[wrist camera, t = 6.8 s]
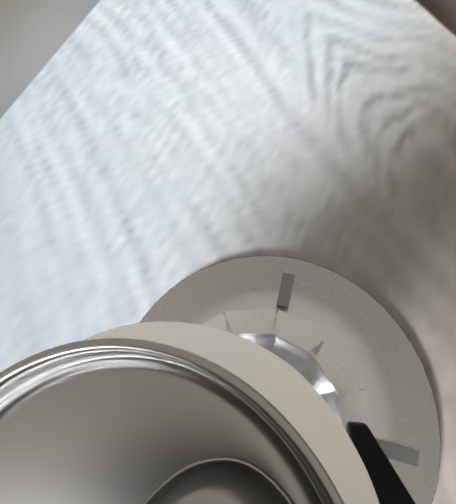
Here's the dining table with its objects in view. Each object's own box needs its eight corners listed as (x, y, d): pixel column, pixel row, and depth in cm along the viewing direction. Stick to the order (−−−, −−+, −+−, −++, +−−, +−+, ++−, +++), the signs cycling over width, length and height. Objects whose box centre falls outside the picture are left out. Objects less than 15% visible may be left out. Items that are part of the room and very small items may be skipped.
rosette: (204, 687, 18) (181, 769, 14) (71, 356, 24) (31, 354, 20) (517, 485, 18) (573, 515, 14) (303, 208, 24) (304, 180, 20)
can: (362, 488, 13) (699, 1094, 2) (204, 559, 14) (-236, 1441, 2) (284, 326, 16) (249, 212, 4) (149, 388, 16) (-207, 431, 5)
